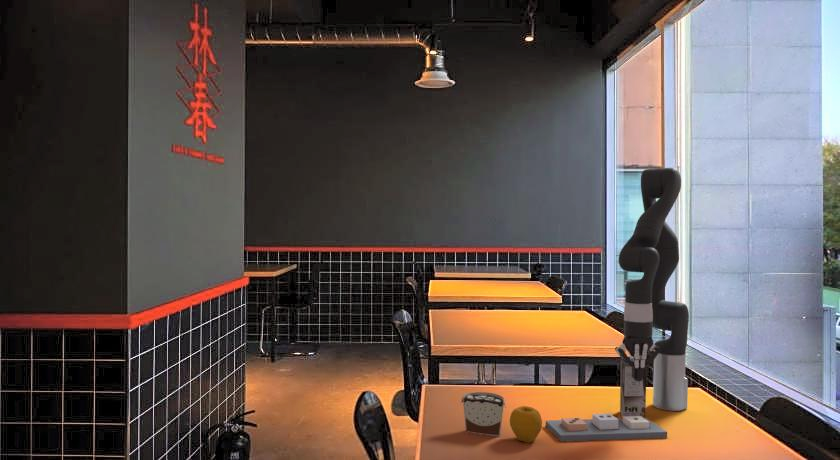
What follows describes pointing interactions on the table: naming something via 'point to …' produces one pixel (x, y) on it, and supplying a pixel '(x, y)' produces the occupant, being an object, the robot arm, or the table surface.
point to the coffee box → (632, 393)
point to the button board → (605, 432)
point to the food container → (483, 412)
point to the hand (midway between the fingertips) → (637, 380)
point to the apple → (526, 423)
